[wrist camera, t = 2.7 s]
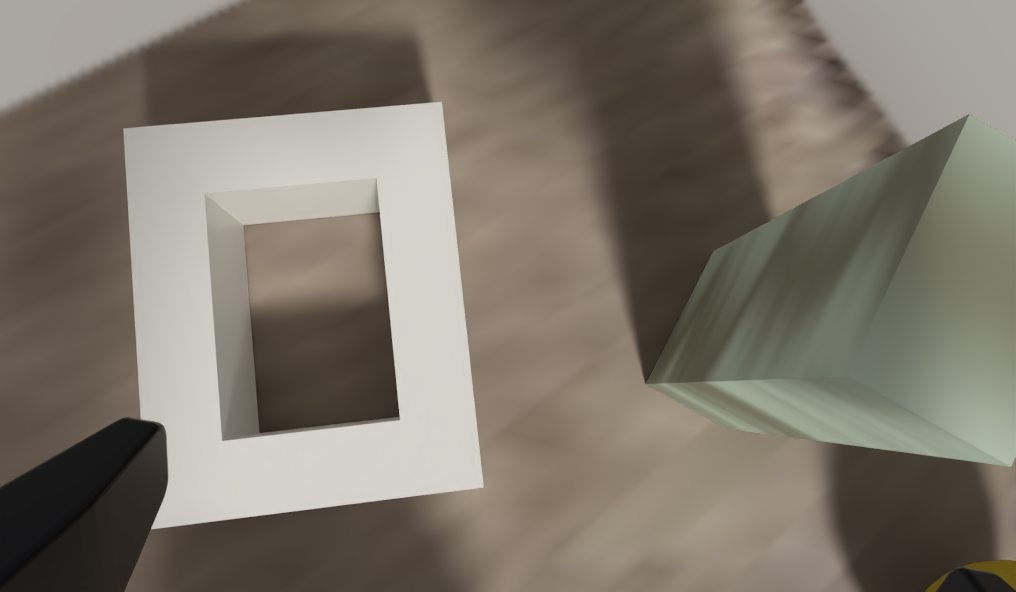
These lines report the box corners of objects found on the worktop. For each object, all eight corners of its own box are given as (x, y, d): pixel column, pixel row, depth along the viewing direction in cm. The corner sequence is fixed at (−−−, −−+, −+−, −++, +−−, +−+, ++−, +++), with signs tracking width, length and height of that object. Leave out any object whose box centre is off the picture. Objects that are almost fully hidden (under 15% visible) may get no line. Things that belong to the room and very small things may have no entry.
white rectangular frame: (478, 472, 25) (483, 487, 21) (198, 506, 24) (147, 529, 20) (443, 146, 26) (441, 101, 22) (175, 170, 25) (123, 128, 21)
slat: (726, 428, 25) (1010, 466, 12) (645, 383, 25) (846, 376, 12) (792, 294, 26) (1125, 199, 13) (713, 251, 26) (969, 114, 13)
